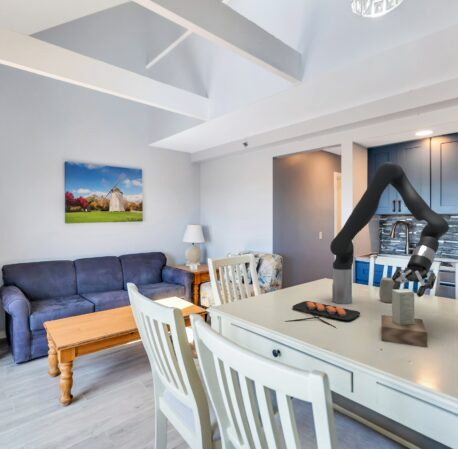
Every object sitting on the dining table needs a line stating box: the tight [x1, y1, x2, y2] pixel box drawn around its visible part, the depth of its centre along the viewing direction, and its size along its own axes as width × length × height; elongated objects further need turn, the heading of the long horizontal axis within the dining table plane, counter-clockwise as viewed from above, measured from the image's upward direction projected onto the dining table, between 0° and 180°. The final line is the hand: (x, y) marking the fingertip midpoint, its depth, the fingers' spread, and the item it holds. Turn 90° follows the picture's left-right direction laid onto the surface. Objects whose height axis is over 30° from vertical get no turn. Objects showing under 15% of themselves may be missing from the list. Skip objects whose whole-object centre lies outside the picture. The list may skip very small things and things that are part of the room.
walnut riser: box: [380, 314, 428, 347], centre depth 117 cm, size 14×14×5 cm
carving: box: [378, 277, 395, 304], centre depth 161 cm, size 6×8×12 cm
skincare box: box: [391, 288, 415, 325], centre depth 117 cm, size 6×4×12 cm
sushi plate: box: [284, 300, 361, 329], centre depth 141 cm, size 29×30×4 cm
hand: (406, 293), depth 119 cm, fingers open, 8 cm apart
